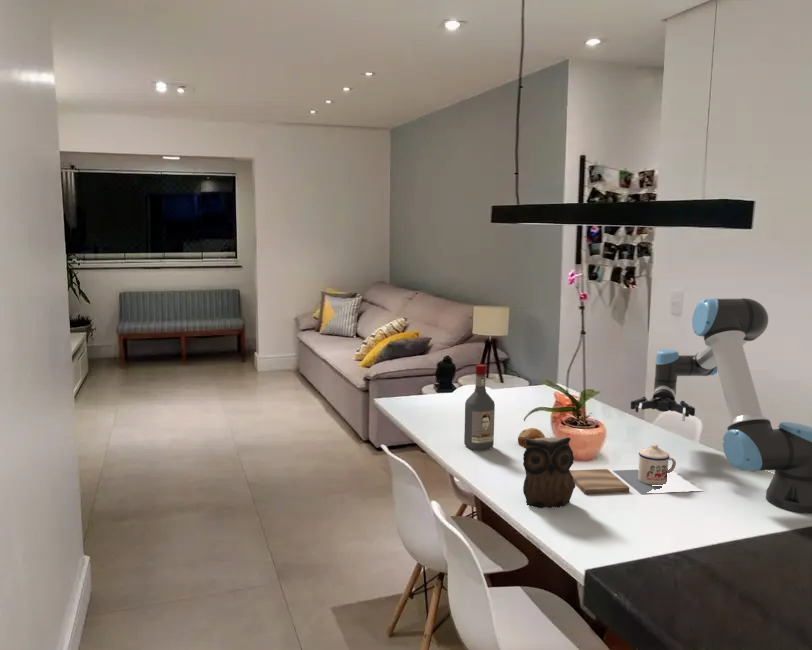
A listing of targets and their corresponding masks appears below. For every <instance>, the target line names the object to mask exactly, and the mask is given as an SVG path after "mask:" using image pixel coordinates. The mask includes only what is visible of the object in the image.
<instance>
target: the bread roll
mask: <svg viewBox="0 0 812 650" xmlns="http://www.w3.org/2000/svg"><path fill="white" fill-rule="evenodd" d="M527 438H528V439H537V438H546V436H545V434H544V433H543V432H542V431H541V429H538V428H535V427H530V428H526V429H523V430H522V431H521V432H520V433H519V434H518V436H517V443H518V446H520V447H523V448H525V449H526V445H525V441H526V439H527Z"/></svg>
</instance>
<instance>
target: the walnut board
mask: <svg viewBox="0 0 812 650" xmlns="http://www.w3.org/2000/svg"><path fill="white" fill-rule="evenodd" d="M569 470H570V473H571V475H572V476H573V481H574V483H575V487H577V488H578V489H579V490H580V491H581V492H582V493H583V494H584V495H597V494H599V495H600V494H614V493H615V494H619V493H620V494H621V493H630V487H629V486H628V485H627V484H626V483H625V482H624V481H622V480H621V479H620V478H619V477H618V476H617V475H615V474H614V472H611V471H610V469H608V468H597V469H596V468H594V469H574V470H573V469H572V470H571V469H569Z"/></svg>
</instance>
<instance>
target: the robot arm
mask: <svg viewBox="0 0 812 650" xmlns="http://www.w3.org/2000/svg"><path fill="white" fill-rule="evenodd" d="M691 322H692V323H691V325H692V330H693V333H694V334H695V335H696V336H699V337H703V340H704V344H705V346H704V347H703V348H702V349H701V350H700V351H699V352H697V353H695V354H694V355H689V354H688V355H687V354H685V355H684V354H683V355H679V352H678V351H677V350H675V349H666V348H665V349H659V350H658V351H657V352H656V357H655V375H654V376H655V377H654V385H653V393H652V398H651V399H648V398H647V397H646V396H642V397H641V398H638V399H635V400H631V401H630V409H631V410H635V413H637V416H638V417H641V415H642V410H649V409H651V410H656V411H659V412H662V413H663V412H664V413H665V412H666V413H667V412H669V411H670V412H676V413H678V414H681V415H682V422H685V421H686V417H687V418H689V417H690V416H691V417H693V416H694V417H695V415H696V408H695V407H693V406H692V405H690V404H688V403H687V402H686V401H684V400H680V401H679V402H677V401H676V394H677V382H678V377H708V376H714V375H716V374H717V373H718V377H719V381H720V384H721V387H722V389H721V390H722V393H723V396H724V400H725V403H726V408H727V411H728V415H729V419H730V422H729V424H728V425H727V426H726V429H727V431H726V432H725V433H724V435H723V436H722V440H723V442H722V448H723V452H724V456H725V458H726V459H727V461H728V462H729V464H730V465H731V466H733V467H734V468H735V469H737V470H739V471H743V472H744V471H745V472H748V471H749V472H754V473H755V472H759V471H774V474H773V476H772V478H771V480H770V483H769V485H768V487H767V489H766V491H765V500H766V501H767V502H769V503H770V504H772V505H773V504H774V505H773V506H775V505H776V507H778V508H780V507H781V509H783V508H784V509H783V510H787V509H788V511H791V510H792V512H796V511H799V512H798V513H804V512H812V426H809V425H805V424H802V423H797V422H791V421H782V422H781V421H780V423H779V425H778V426H777V427H778V428H773V426H772V423H771V419H769V418H767V417H765V416H764V415H763V412H762V410H761V406H760V402H759V398H758V395H757V391H756V387H755V383H754V380H753V377H752V375H751V369H750V366H749V363H748V359H747V356H746V352H745V350H744V345H745V344H746V343H748V342H753V341H755V340H756V339H758V338H759V337H760V336H762V334H764V332H765V331H766V330H767V327H768V324H769V314H768V311H767V309H766V308H765V307H764V306H763V305H762V303H760V302H758V301H757V300H755V299H751V298H745V297H744V298H743V297H742V298H717V297H713V298H704V299H701V300H700V301H698V303H697V304H696V306H695V307H694V310H693V313H692V319H691Z"/></svg>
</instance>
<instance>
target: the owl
mask: <svg viewBox="0 0 812 650" xmlns="http://www.w3.org/2000/svg"><path fill="white" fill-rule="evenodd" d="M570 441H571V437H545V438H537V439H528V438H527V439H526V441H525V445H526V448H525V450H524V453H523V457H522V458H523V461H522V462H523V463H522V465H523V468H524V471H525V479H524V481H523V487H522V488H523V489H522V492H523V494H524V498H525V504H526V503H527V504H526V505H527V506H528V505H529V507H532V506H533V507H532V508H536V507H537V509H544V508H545V509H546V508H548V509H552V508H562V507H565V506H566V505H568V504H570V503H571V498H572V495H573V493H574V490H575V488H576V485H575V483H574V481H573V476H572V475H571V473H570V470H571V469H570V468H571V467H573V466H572V465H574V460H575V459H574V458H575V457H574V452H573V450H572V448H571V446H570Z"/></svg>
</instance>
